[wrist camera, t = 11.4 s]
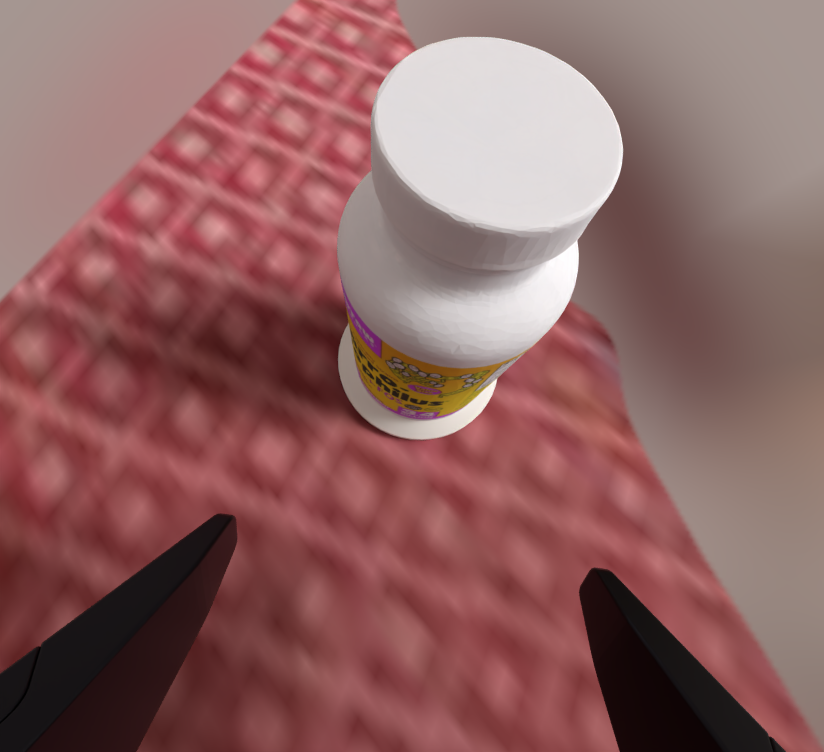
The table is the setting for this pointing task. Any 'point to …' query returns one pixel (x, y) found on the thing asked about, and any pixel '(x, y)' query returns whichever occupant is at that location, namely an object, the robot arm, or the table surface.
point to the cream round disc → (392, 422)
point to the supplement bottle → (469, 217)
